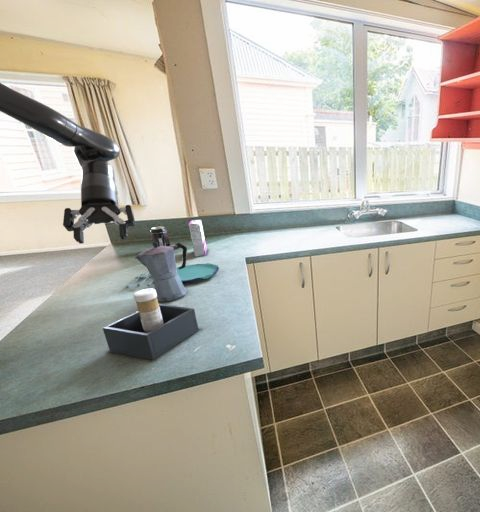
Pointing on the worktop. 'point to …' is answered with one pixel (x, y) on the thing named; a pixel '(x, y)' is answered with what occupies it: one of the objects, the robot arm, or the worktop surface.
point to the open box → (151, 332)
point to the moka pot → (164, 270)
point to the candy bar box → (197, 237)
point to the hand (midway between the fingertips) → (102, 239)
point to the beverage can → (160, 236)
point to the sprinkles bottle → (148, 309)
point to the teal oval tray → (187, 273)
